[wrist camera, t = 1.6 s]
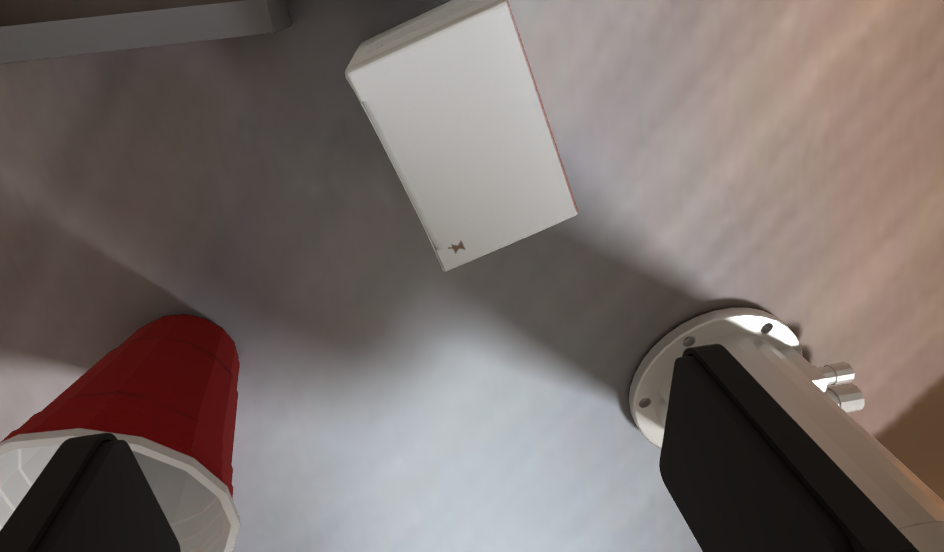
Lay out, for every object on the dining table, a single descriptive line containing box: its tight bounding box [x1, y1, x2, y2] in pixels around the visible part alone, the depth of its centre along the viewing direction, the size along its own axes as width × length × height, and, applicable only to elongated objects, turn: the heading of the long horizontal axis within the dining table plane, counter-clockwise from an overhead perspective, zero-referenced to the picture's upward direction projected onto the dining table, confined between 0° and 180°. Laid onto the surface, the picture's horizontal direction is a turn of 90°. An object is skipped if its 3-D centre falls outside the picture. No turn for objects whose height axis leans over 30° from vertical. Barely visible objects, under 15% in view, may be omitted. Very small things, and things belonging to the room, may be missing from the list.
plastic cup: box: [0, 314, 240, 552], centre depth 27 cm, size 11×11×12 cm
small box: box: [345, 0, 578, 272], centre depth 23 cm, size 8×6×10 cm
